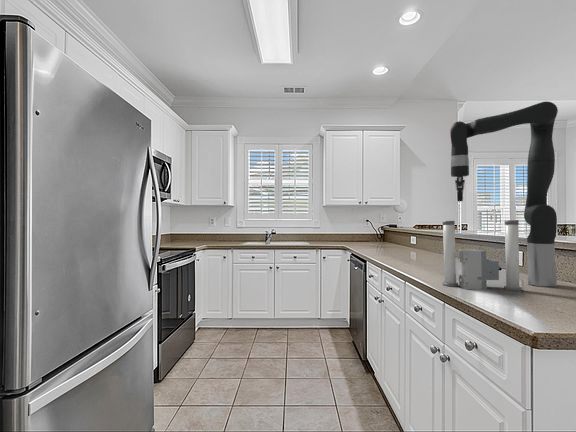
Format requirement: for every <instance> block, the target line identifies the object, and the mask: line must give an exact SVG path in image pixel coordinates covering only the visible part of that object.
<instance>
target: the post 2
mask: <svg viewBox="0 0 576 432" xmlns="http://www.w3.org/2000/svg"><path fill="white" fill-rule="evenodd" d="M504 239H505V241H504V242H505V243H504V244H505V245H504V246H505V248H504V249H505V252H504V253H505V254H504V255H505V285H504V286H503V290H505V291H509V292H522V291H523V287H522V286H520V247H519V246H520V243H519V242H520V240H519V219H518V220H517V219H516V220H515V219H512V220H511V219H510V220H509V219H507V220H504Z"/></svg>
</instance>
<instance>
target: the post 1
mask: <svg viewBox="0 0 576 432" xmlns="http://www.w3.org/2000/svg"><path fill="white" fill-rule="evenodd" d="M455 223H456V221H455V220H442V233H443V234H442V239H443V242H442V243H443V265H444V266H443V270H444V273H443V276H444V281H443V282H442V286H444V287H449V288H451V287H452V288H454V287H455V288H456V287H460V286H459V282H457V265H456V263H457V262H456V233H455V230H456V229H455V225H456V224H455Z"/></svg>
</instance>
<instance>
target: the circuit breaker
mask: <svg viewBox="0 0 576 432" xmlns="http://www.w3.org/2000/svg"><path fill="white" fill-rule="evenodd" d="M457 254H458V255H457V257H458V261H459V263H460V273H458V285H459V286H458V287H461V288H462V289H463V290H466V289H467V290H487V287H488V286H487V285H488V284H487V281H500V273H499V271H502V269H503V268H502V267H500V265H499V260H497V259H492V258H487V251H486V250H482V249H458V253H457Z"/></svg>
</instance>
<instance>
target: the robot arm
mask: <svg viewBox="0 0 576 432" xmlns="http://www.w3.org/2000/svg"><path fill="white" fill-rule="evenodd" d="M558 110H559V109H558V106H557V105H556V104H555V103H554V102H551V101H541V102H538V103H536V104H532V105H530V106H527V107H524V108H521V109H518V110H514V111H510V112H505V113H501V114H500V113H499V114H497V115H492V116H486V117H481V118H478V119H475V120H474V121H472V122H468V123H466V122H463V121H461V120H459V121H456V122H454V123H453V124H452V125H451V126H450V131H449V133H450V134H449V135H450V144H451V152H450V154H451V155H450V156H451V158H450V177H452V178H456V179H455V180H454V184H455V189H456V193H457V194H456V195H457V197H456V199H457V202H463V200H464V197H463V195H464V194H463V193H464V189H465V183H466V182H465V181H466V180H465V179H464V178H465V177H468V176H470V160H469V145H468V139H469V138H471V137H475V136H479V135H484V134H491V133H495V132H499V131H502V130H505V129H509V128H512V127H515V126H521V125H527V124H528V125H529V124H530V125H529V126H530V145H529V148H528V157H527V169H526V170H527V171H526V173H527V174H526V175H527V176H526V179H527V182H526V189H527V190H526V191H527V192H526V200H525V206H524V211H523V212H524V213H523V217H524V220H525V223H527V224H528V225H529V226H530V229H529V234H528V235H527V237H526V245H527V246H526V249H527V250H526V254H527V257H526V258H527V284H528V285H531V286H535V287H536V286H537V287H558V282H557V281H558V280H557V277H558V276H557V262H556V253H555V250H556V249H555V248H556V247H555V241H556V240H555V239H556V238H557V233H558V231H557V228H558V221H557V220H558V218H557V217H558V216H557V212H556V209H554V208H553V207H552V206H551V205H549V204H548V191H549V189H550V186H551V184H552V181H553V178H554V175H555V170H556V169H555V167H556V166H555V165H556V159H555V157H556V155H555V149H554V142H553V132H554V127H555V126H554V125H555V120H556V118H557V115H558V112H559V111H558Z"/></svg>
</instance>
